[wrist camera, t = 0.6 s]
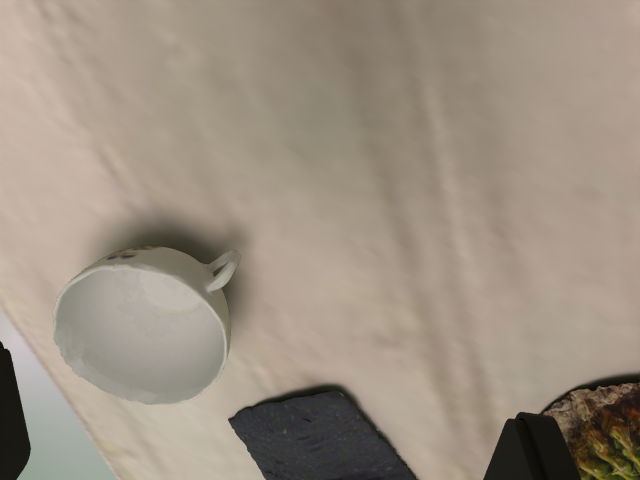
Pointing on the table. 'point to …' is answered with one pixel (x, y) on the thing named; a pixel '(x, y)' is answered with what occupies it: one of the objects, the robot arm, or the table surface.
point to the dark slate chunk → (316, 441)
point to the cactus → (602, 431)
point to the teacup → (147, 324)
